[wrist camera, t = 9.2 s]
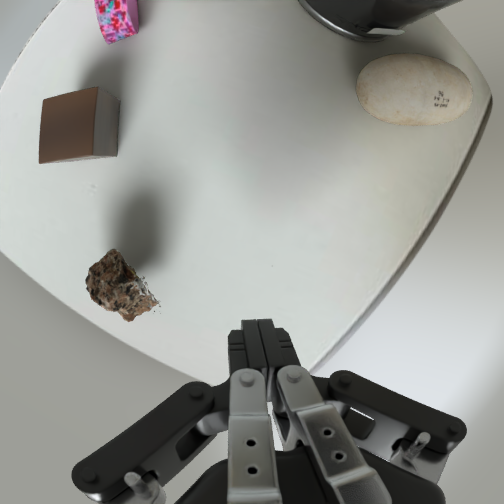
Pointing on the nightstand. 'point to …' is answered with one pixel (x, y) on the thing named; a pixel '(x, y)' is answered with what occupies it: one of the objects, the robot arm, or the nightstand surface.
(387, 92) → the stone
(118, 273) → the rock
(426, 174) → the nightstand surface
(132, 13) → the headband
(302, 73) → the nightstand surface
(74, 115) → the brown cube block
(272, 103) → the nightstand surface
